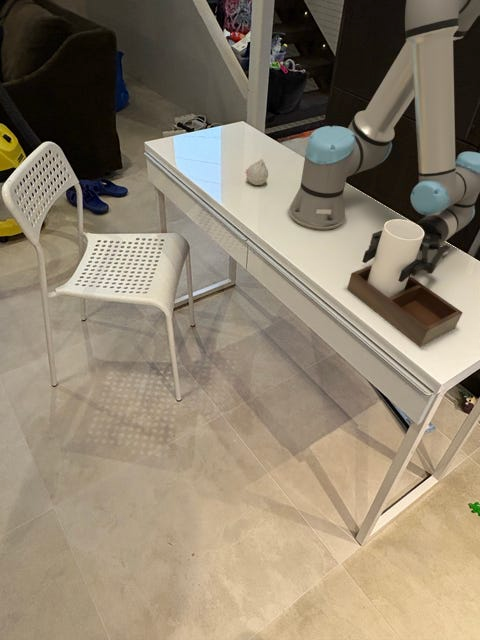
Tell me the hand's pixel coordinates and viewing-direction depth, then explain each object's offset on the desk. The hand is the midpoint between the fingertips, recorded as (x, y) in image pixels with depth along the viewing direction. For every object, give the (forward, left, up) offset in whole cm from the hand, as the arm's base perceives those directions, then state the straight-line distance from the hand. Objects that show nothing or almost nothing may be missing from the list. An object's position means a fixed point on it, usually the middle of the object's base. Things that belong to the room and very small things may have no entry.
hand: (383, 266), depth 103 cm
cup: (-4, +2, -9) cm, 10 cm away
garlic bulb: (-42, -44, -10) cm, 61 cm away
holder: (-1, +6, -10) cm, 12 cm away
